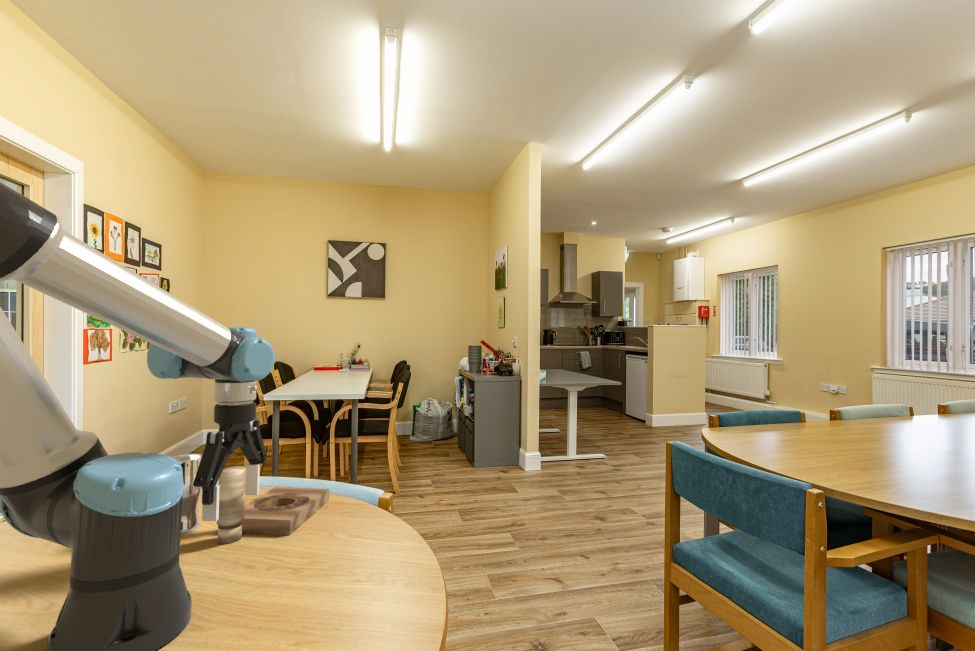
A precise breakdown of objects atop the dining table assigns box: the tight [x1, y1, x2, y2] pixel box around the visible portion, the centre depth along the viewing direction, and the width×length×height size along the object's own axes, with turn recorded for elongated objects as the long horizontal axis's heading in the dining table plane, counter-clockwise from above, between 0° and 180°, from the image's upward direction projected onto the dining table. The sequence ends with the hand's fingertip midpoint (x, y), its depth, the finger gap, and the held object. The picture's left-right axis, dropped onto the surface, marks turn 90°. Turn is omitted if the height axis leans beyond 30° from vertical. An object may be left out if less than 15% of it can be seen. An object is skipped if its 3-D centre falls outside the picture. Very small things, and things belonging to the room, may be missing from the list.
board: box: [242, 486, 330, 536], centre depth 102 cm, size 20×14×3 cm
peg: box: [216, 465, 246, 545], centre depth 89 cm, size 5×5×14 cm
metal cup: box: [171, 453, 203, 535], centre depth 94 cm, size 7×7×15 cm
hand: (232, 506), depth 90 cm, fingers open, 13 cm apart
